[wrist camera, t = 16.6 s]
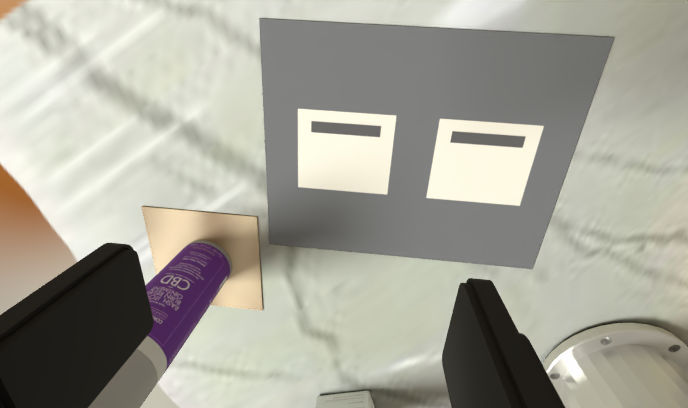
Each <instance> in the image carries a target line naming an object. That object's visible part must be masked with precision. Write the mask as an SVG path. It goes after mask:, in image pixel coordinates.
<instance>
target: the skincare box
mask: <svg viewBox="0 0 688 408" xmlns="http://www.w3.org/2000/svg"><path fill="white" fill-rule="evenodd" d="M315 408H375V407H374V404H373V401H372V398H371V395H370V392H369V391H359V392H350V393H342V394H333V395H324V396H318V397H317V400H316V407H315Z"/></svg>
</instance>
